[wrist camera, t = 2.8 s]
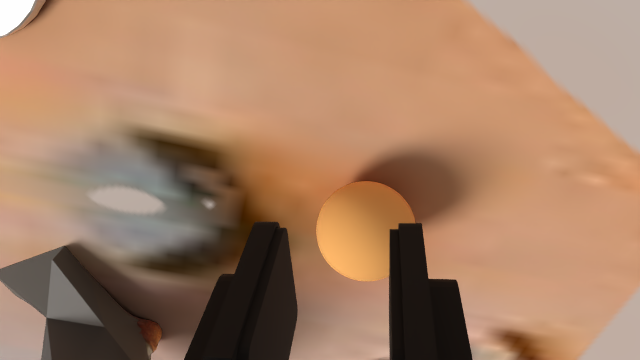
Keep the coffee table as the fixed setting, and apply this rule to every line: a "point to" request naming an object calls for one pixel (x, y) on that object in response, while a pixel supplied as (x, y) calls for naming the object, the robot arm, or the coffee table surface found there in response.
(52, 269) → the dark grey faceted piece
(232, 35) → the coffee table surface
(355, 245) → the ball
